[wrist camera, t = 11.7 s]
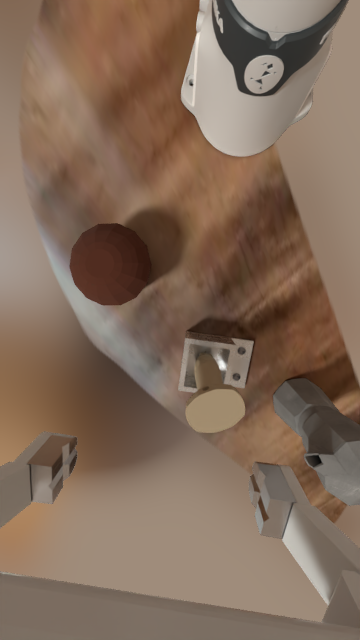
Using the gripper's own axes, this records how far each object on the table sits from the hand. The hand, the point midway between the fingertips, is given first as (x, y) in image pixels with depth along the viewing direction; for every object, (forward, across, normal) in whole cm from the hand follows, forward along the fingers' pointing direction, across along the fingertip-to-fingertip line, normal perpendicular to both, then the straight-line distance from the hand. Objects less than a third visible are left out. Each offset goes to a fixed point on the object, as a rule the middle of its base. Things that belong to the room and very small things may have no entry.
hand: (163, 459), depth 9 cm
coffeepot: (+28, -24, +12) cm, 39 cm away
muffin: (+28, +11, -8) cm, 32 cm away
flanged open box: (+28, -7, +6) cm, 29 cm away
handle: (+27, -5, +6) cm, 28 cm away
